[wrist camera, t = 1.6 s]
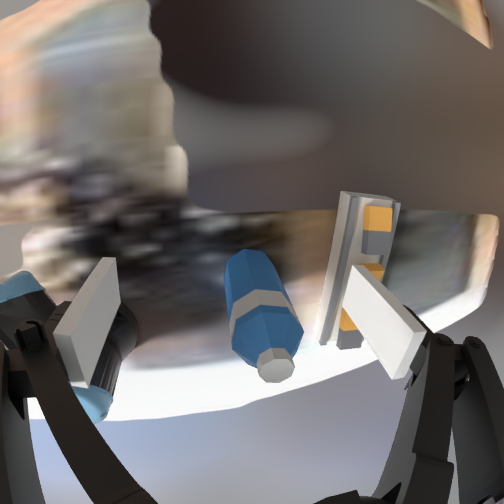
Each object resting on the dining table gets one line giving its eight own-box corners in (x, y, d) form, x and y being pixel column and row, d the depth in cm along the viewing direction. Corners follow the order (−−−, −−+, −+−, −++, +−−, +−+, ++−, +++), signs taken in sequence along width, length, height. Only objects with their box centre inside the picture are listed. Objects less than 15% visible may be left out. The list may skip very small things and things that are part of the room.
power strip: (313, 330, 63) (320, 345, 58) (340, 190, 51) (352, 197, 47) (354, 327, 64) (363, 341, 60) (386, 196, 53) (400, 203, 48)
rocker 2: (361, 253, 49) (366, 254, 47) (364, 205, 48) (370, 205, 46) (382, 253, 50) (388, 255, 48) (386, 208, 49) (392, 208, 47)
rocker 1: (336, 345, 57) (340, 349, 55) (341, 307, 56) (346, 311, 54) (356, 343, 57) (360, 347, 55) (362, 306, 56) (366, 309, 54)
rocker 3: (344, 296, 55) (348, 303, 53) (358, 263, 50) (362, 271, 48) (365, 295, 55) (369, 302, 54) (380, 263, 50) (384, 270, 49)
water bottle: (278, 287, 57) (318, 385, 34) (229, 299, 57) (245, 403, 34) (269, 242, 53) (314, 330, 30) (217, 254, 53) (226, 352, 30)
